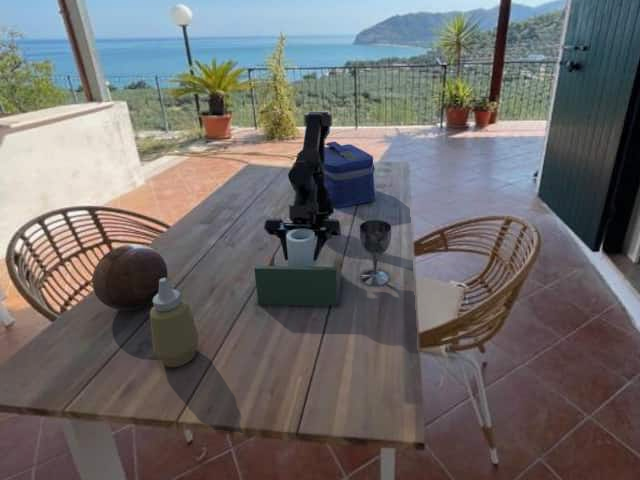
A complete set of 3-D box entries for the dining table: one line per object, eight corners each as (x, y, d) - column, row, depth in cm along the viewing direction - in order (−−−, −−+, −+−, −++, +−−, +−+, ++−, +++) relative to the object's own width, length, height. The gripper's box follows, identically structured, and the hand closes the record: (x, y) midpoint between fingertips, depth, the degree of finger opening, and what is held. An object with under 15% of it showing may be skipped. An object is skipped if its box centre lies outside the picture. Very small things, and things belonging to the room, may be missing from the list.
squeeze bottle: (166, 343, 80) (149, 268, 74) (206, 340, 81) (192, 266, 75) (150, 374, 73) (129, 294, 66) (194, 371, 74) (177, 291, 67)
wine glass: (368, 289, 98) (369, 236, 92) (354, 274, 104) (354, 224, 99) (395, 281, 101) (397, 229, 96) (380, 266, 108) (381, 217, 102)
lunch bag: (305, 185, 170) (303, 139, 162) (349, 178, 178) (349, 134, 171) (331, 210, 144) (330, 157, 136) (381, 201, 152) (382, 150, 145)
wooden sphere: (185, 289, 98) (175, 236, 93) (143, 328, 85) (127, 269, 79) (134, 282, 101) (121, 230, 96) (85, 319, 87) (66, 262, 82)
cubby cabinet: (270, 274, 104) (267, 241, 101) (342, 275, 104) (341, 242, 100) (257, 304, 92) (253, 268, 89) (337, 306, 92) (336, 269, 88)
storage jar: (303, 269, 104) (300, 225, 99) (321, 278, 100) (320, 233, 95) (283, 280, 99) (280, 235, 94) (302, 291, 95) (300, 244, 90)
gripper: (262, 188, 94) (254, 251, 88) (338, 189, 94) (335, 252, 88) (272, 205, 105) (266, 262, 98) (341, 206, 104) (339, 263, 98)
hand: (300, 260), depth 95 cm, fingers closed on storage jar, 7 cm apart
